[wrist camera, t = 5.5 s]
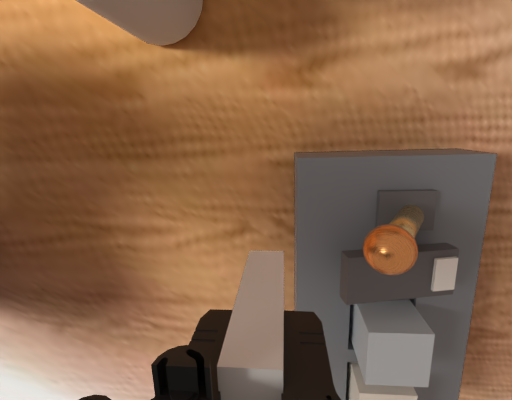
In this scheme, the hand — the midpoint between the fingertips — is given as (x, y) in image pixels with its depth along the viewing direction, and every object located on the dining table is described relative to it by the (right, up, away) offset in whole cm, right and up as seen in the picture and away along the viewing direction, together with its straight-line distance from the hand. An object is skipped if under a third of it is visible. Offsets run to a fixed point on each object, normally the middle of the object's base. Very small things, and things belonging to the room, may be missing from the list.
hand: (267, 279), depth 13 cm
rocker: (+10, -2, +8) cm, 13 cm away
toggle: (+10, +2, +8) cm, 13 cm away
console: (+10, -4, +16) cm, 20 cm away
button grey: (+10, -6, +14) cm, 18 cm away
